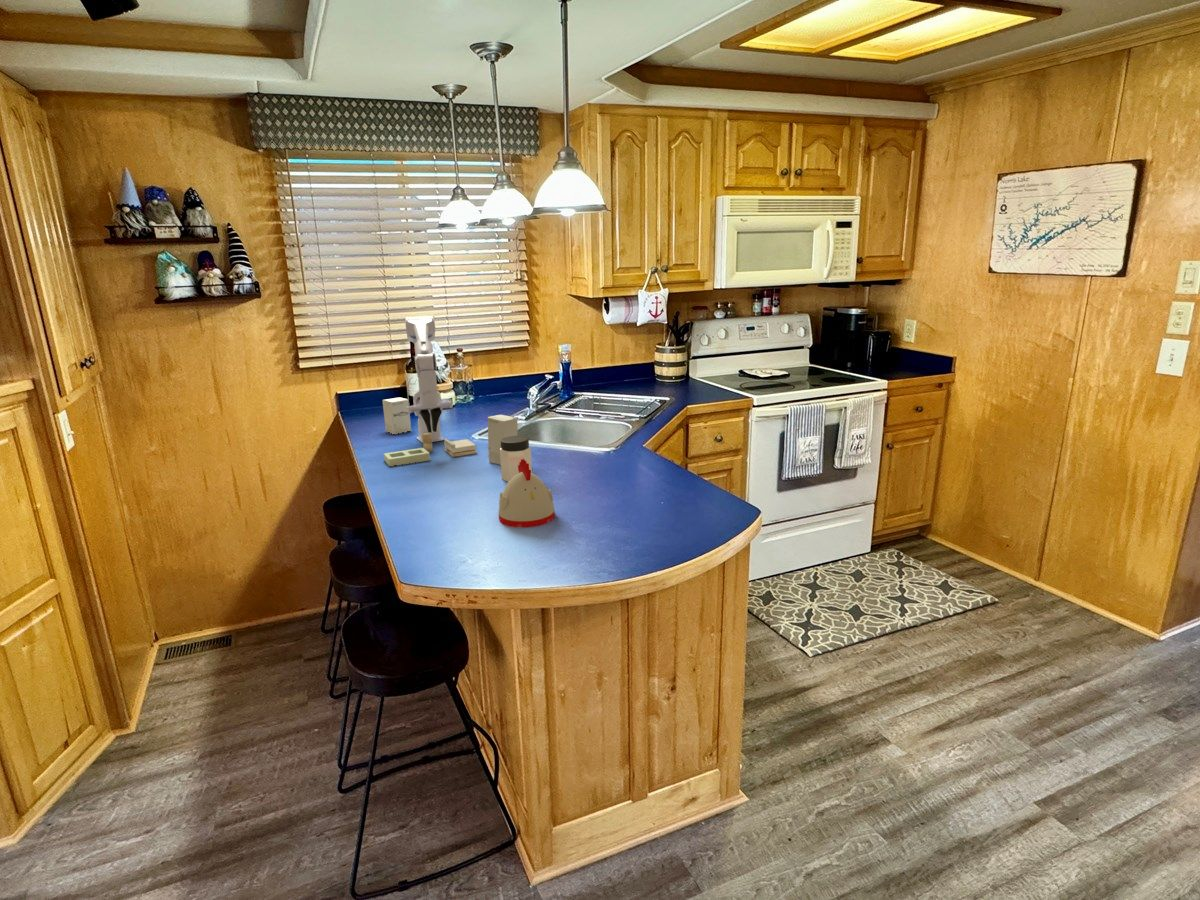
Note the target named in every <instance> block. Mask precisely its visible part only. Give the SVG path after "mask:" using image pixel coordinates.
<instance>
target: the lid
mask: <svg viewBox="0 0 1200 900" xmlns="http://www.w3.org/2000/svg"><path fill="white" fill-rule="evenodd" d="M443 441H444V448H447V449H448V450H450V451H451V452H452V453H455V452H462V451H468V450H474V449H475V450H476V449H477V445H476V444H475V443H473V442H472V441H470V439H467V438H466V439H465V438H464V439H460V440H453V441H450V440H449V438H444V440H443Z"/></svg>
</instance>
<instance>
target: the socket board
mask: <svg viewBox="0 0 1200 900" xmlns="http://www.w3.org/2000/svg"><path fill="white" fill-rule="evenodd" d="M430 453H431V452H428V451H427V450H425V449H424V448H423V447H418V448H412V449H406V450H399V451H391V452H387V453H386V452H385V453H383V460H385V461H386V462H385V461H384V462H385V463H386V465H388V466H389V467H390V466H391V467H395V466H394V465H397V466H402V464H403V465H408V464H409V463H410V464H415V462H416V463H420V462H421V463H422V462H426V461H427V462H428V461H431V454H430ZM410 464H409V465H410Z"/></svg>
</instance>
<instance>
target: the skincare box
mask: <svg viewBox="0 0 1200 900" xmlns="http://www.w3.org/2000/svg"><path fill="white" fill-rule="evenodd" d="M518 429H519V428H518V418H517V417H513V416H510V415H505V414H496V415H489V416H488V417H487V440H488V442H487V443H488V444H487V445H488V447H487V448H488V462H489V463H491V464H494V465H495V464H496V465H500V466H501V460H500V449H501V439H503V438H505V437H510V436H519V435H518V431H519V430H518Z"/></svg>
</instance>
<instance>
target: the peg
mask: <svg viewBox="0 0 1200 900" xmlns="http://www.w3.org/2000/svg"><path fill="white" fill-rule="evenodd" d="M422 438H423V443H422V446H423V447H422V448H424V449H425V450H427V451H428V452H429V453H431V452H434V449H433V447H434V446H433V442H432V436H431V433H424V434H422Z"/></svg>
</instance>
